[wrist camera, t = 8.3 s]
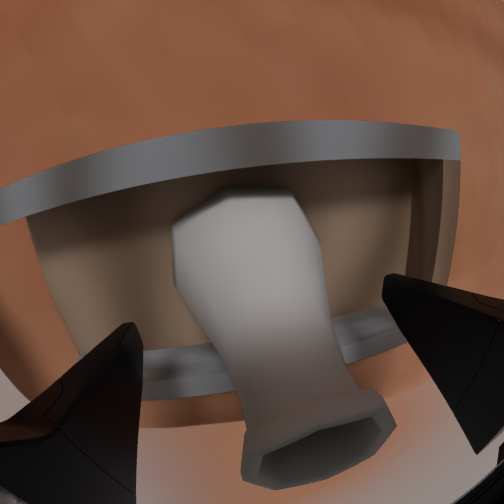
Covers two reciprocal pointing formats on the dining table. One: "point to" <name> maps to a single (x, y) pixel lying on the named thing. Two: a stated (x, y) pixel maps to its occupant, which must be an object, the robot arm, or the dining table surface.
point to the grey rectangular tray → (239, 175)
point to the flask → (275, 336)
